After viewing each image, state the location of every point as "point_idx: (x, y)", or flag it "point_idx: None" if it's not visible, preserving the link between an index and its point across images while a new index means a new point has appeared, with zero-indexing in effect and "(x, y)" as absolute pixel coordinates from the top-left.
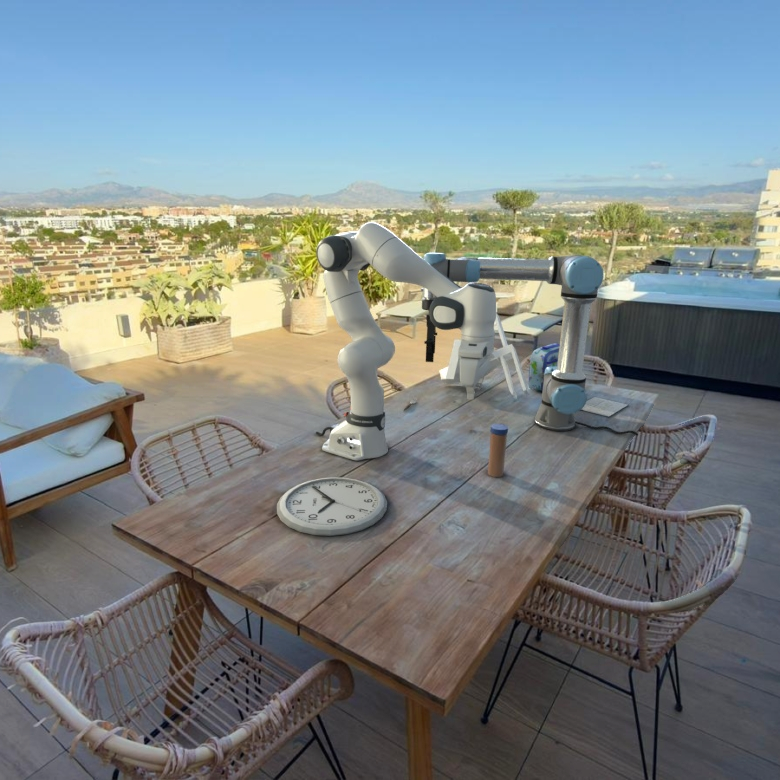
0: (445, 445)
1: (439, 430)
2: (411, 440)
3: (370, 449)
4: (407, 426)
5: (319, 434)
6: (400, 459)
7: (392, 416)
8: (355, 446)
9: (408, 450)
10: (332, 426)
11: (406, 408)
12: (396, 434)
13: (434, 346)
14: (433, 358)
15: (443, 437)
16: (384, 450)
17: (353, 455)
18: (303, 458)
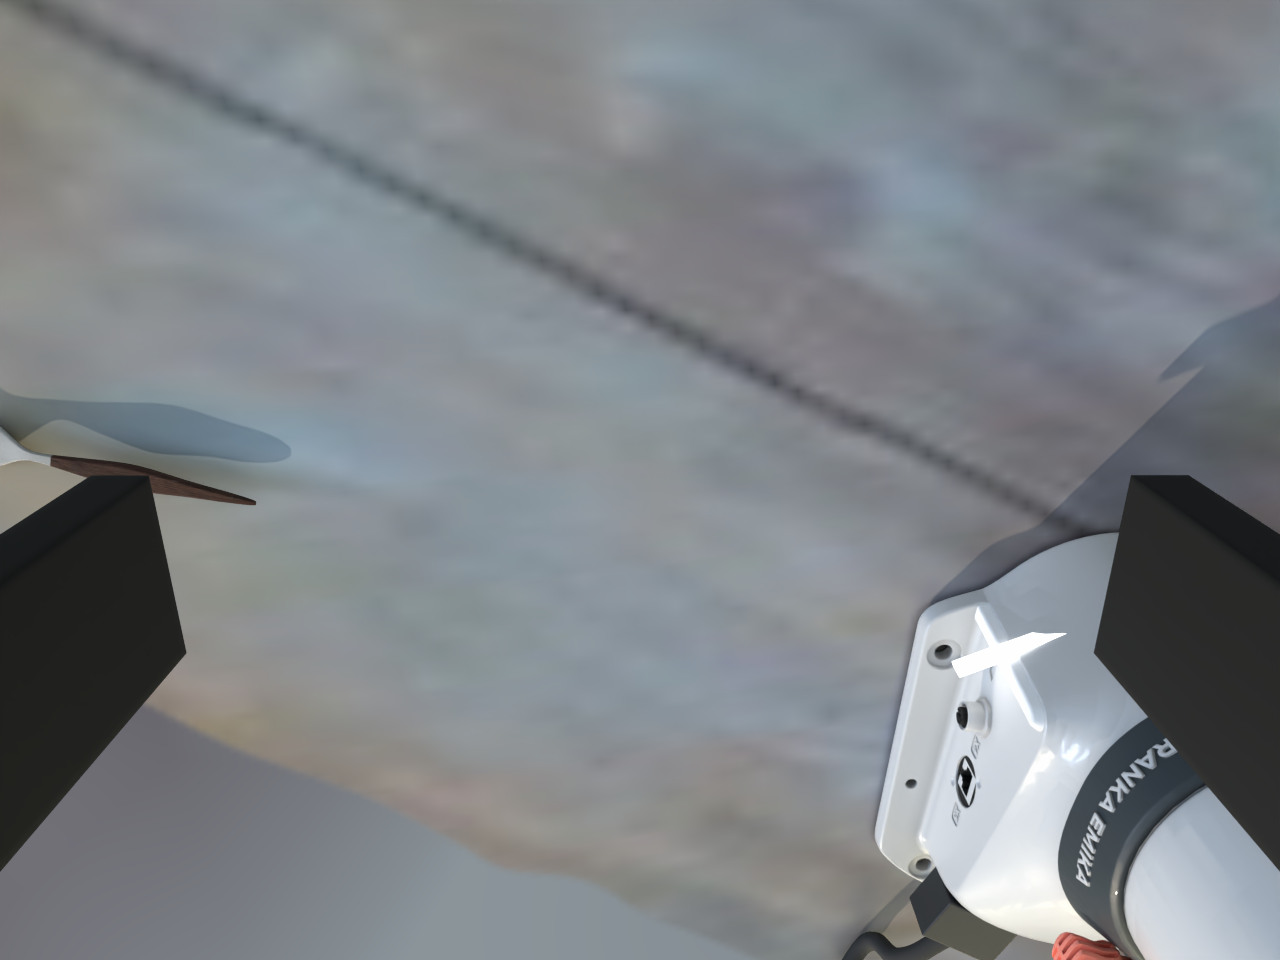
0: (1004, 82)
1: (650, 149)
2: (905, 381)
3: None
4: (602, 437)
5: (866, 952)
6: (1266, 431)
7: (395, 574)
8: None
9: (1105, 388)
10: (985, 952)
11: (199, 486)
12: (789, 505)
13: (28, 583)
14: (1219, 513)
15: (818, 105)
16: None
17: None
18: None
